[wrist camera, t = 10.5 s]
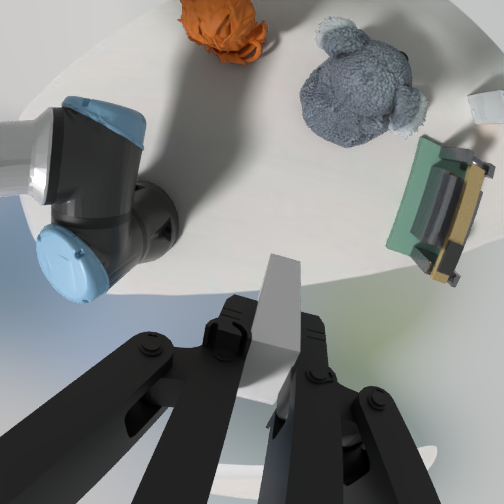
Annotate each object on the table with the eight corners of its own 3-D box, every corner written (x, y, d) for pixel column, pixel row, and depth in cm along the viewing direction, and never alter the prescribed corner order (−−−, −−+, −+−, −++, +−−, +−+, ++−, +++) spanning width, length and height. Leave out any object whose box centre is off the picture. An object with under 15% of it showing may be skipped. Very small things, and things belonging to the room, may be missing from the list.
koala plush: (420, 115, 36) (488, 105, 18) (341, 173, 42) (374, 193, 24) (355, 34, 32) (387, -23, 14) (272, 89, 38) (255, 49, 20)
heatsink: (433, 144, 37) (465, 146, 27) (466, 162, 36) (500, 169, 27) (399, 250, 45) (420, 276, 35) (432, 262, 44) (457, 288, 35)
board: (419, 137, 37) (422, 137, 36) (477, 168, 36) (481, 169, 35) (385, 246, 45) (387, 248, 44) (443, 266, 44) (446, 268, 43)
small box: (473, 124, 33) (508, 124, 24) (466, 95, 32) (499, 89, 22) (500, 122, 31) (533, 123, 22) (493, 95, 30) (526, 91, 20)
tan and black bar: (468, 154, 29) (475, 155, 27) (483, 163, 29) (489, 164, 27) (428, 275, 36) (432, 280, 35) (443, 280, 36) (448, 285, 34)
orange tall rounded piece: (270, 15, 33) (255, -44, 16) (272, 69, 37) (257, 24, 20) (205, 21, 35) (162, -26, 18) (204, 73, 39) (155, 40, 22)
